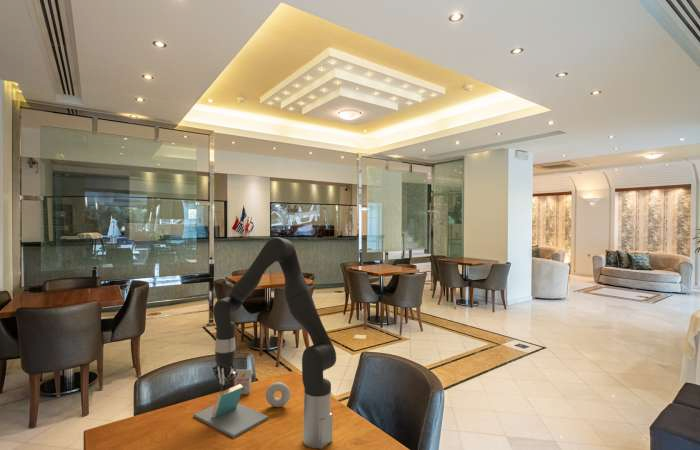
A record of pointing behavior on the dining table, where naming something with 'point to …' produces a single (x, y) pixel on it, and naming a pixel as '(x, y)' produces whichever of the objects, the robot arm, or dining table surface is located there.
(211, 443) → the dining table surface
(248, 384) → the white printed carton
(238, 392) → the tile
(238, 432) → the board
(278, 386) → the donut
